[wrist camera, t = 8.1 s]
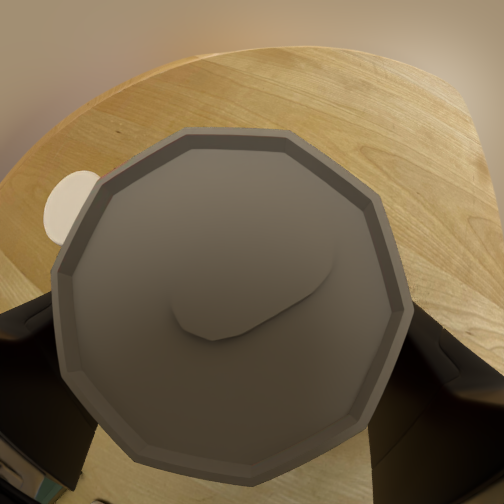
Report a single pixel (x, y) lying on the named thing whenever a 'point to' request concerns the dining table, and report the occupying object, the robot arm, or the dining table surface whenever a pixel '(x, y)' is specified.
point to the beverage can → (230, 304)
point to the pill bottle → (67, 204)
